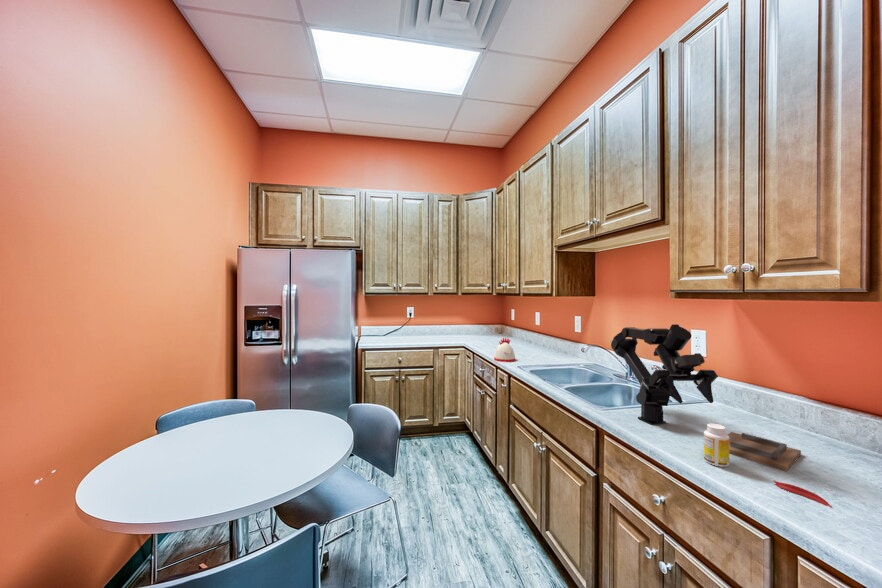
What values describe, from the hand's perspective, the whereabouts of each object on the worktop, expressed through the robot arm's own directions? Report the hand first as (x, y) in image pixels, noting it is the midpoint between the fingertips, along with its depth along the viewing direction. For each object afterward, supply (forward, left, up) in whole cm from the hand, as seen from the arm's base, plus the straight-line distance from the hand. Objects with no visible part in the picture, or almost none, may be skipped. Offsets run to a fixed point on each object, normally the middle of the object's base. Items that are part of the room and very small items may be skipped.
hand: (696, 402), depth 104 cm
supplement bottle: (+8, -2, -14) cm, 16 cm away
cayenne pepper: (+24, +2, -15) cm, 28 cm away
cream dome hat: (-135, 0, -14) cm, 135 cm away
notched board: (+6, +16, -14) cm, 22 cm away
